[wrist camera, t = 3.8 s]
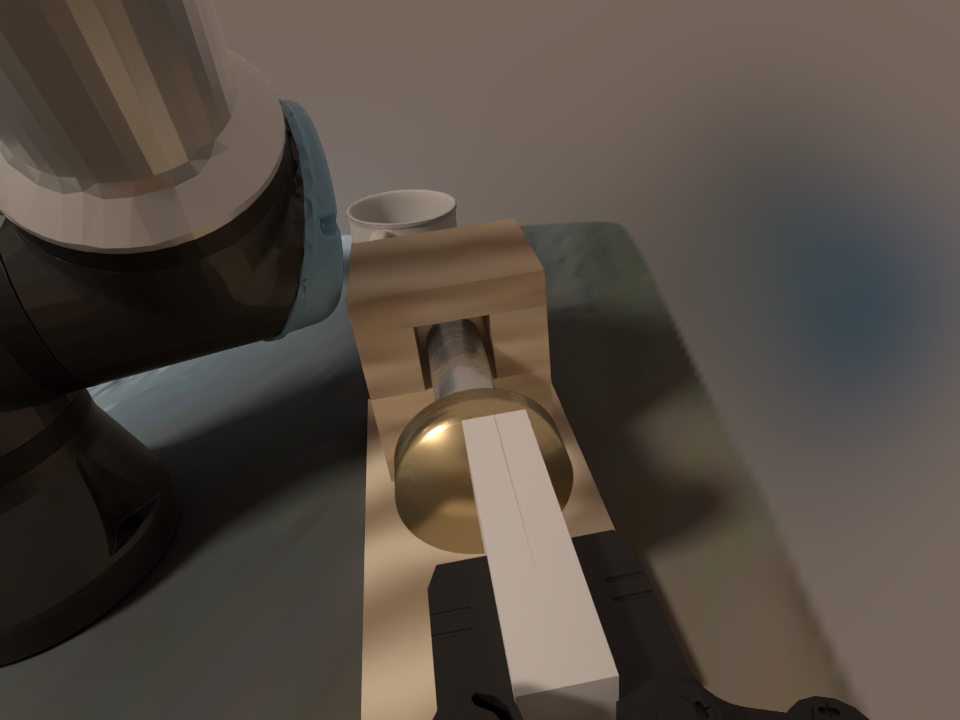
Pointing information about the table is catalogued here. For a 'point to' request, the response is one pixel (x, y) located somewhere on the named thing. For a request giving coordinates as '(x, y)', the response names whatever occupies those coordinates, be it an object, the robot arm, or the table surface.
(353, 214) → the teacup
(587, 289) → the table surface
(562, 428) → the bearing stand
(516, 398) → the shaft
